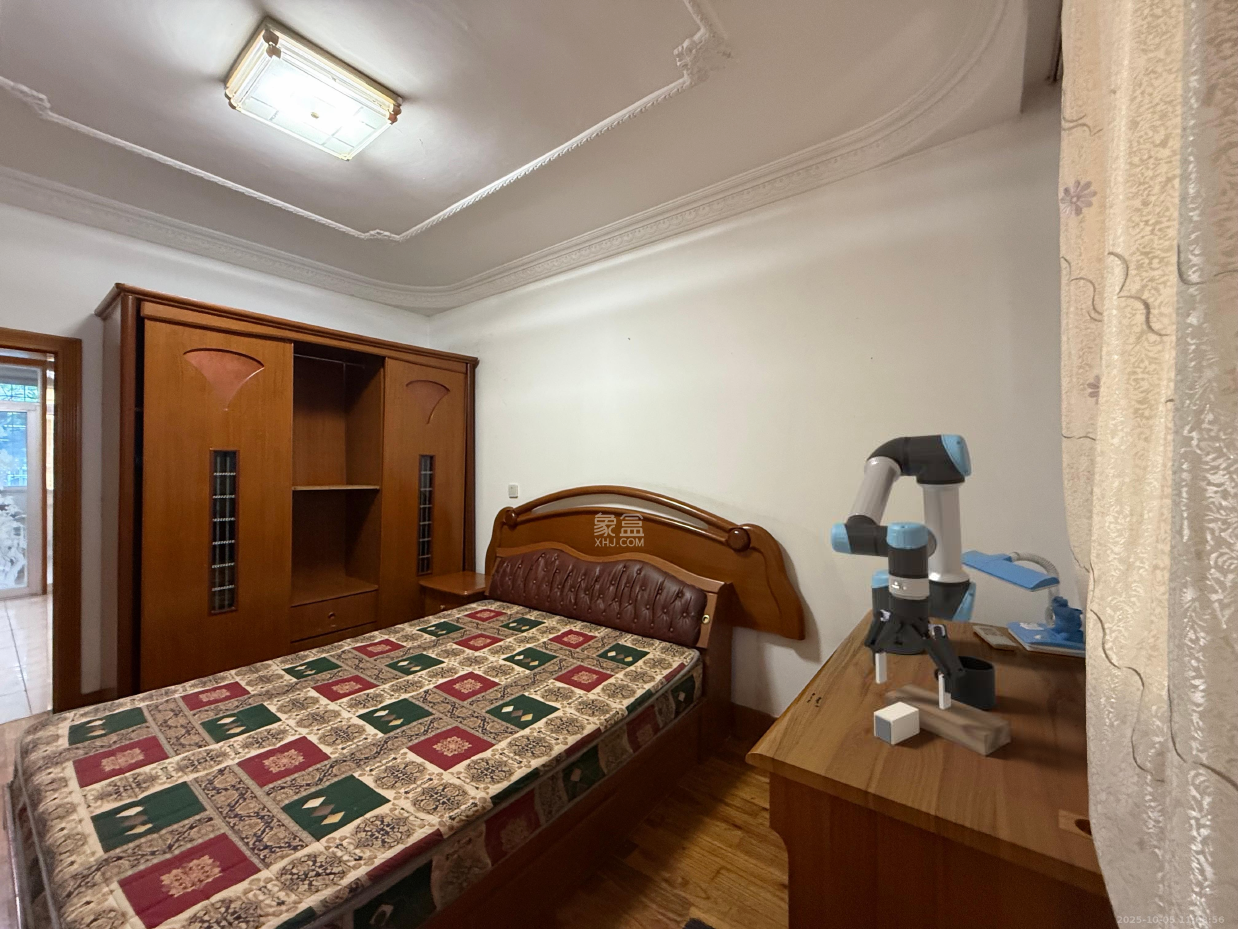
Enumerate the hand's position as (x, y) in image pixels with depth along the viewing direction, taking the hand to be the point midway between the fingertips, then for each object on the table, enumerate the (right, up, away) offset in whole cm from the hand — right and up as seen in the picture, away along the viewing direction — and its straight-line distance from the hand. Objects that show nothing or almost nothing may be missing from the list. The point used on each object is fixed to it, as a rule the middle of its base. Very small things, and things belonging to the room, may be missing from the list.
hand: (911, 693), depth 105 cm
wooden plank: (+7, -7, 0) cm, 10 cm away
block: (-1, -5, 0) cm, 5 cm away
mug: (+20, -7, +12) cm, 24 cm away
